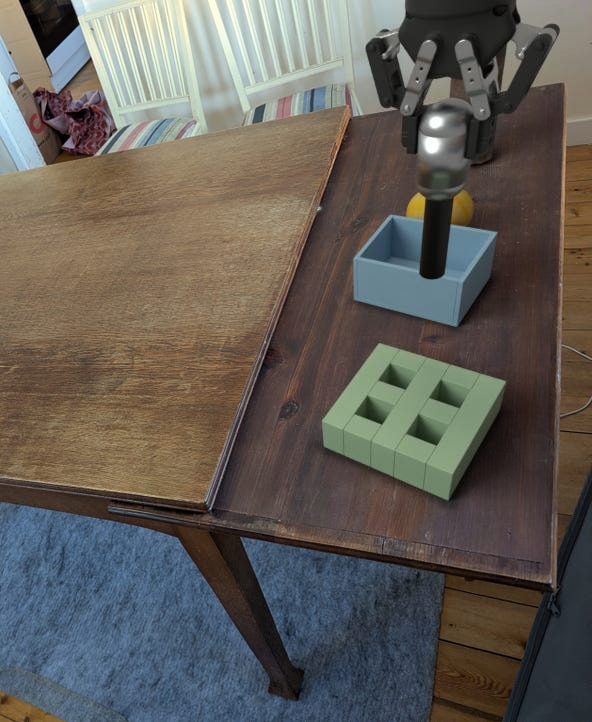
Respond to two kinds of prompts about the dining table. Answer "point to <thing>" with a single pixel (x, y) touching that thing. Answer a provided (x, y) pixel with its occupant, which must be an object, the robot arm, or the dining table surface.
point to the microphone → (441, 176)
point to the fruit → (459, 213)
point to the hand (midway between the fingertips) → (443, 151)
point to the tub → (402, 263)
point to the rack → (414, 418)
